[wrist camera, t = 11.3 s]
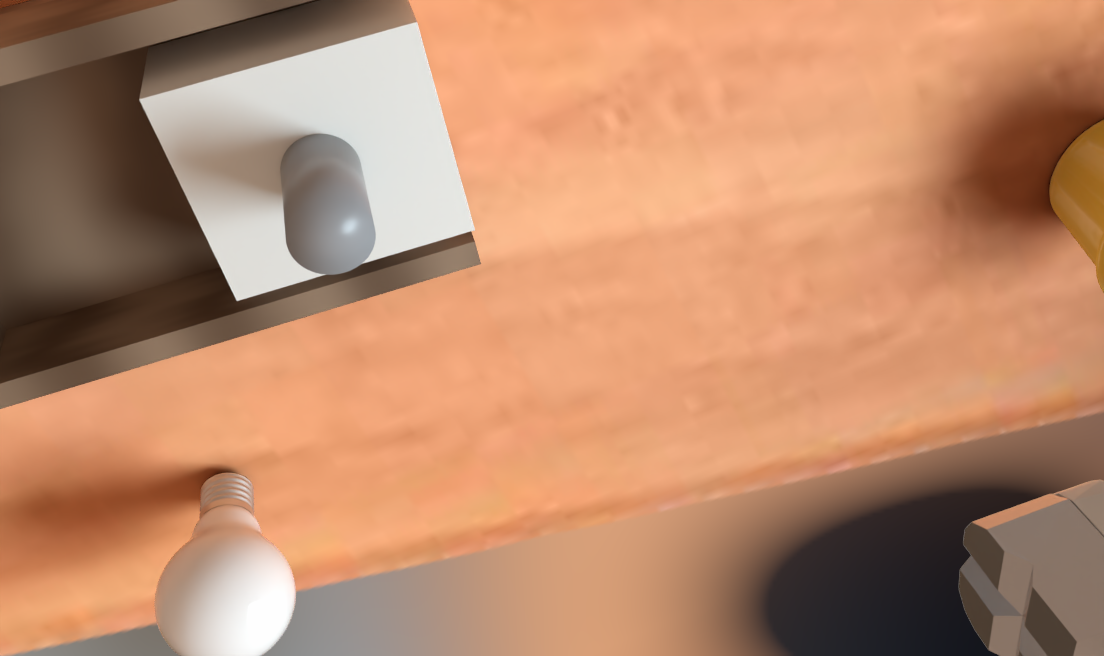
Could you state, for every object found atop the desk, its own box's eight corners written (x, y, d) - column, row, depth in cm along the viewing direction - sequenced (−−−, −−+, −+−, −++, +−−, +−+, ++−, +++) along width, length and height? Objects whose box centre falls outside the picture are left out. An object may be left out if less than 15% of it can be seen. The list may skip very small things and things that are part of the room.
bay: (375, -93, 39) (405, -23, 32) (461, 210, 47) (499, 316, 41) (-203, 63, 37) (-302, 173, 30) (-3, 347, 46) (-45, 483, 39)
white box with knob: (399, -22, 40) (439, 76, 32) (454, 174, 45) (500, 297, 37) (148, 47, 39) (127, 164, 31) (236, 238, 44) (237, 378, 37)
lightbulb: (139, 468, 52) (120, 644, 43) (253, 420, 52) (256, 586, 43) (203, 540, 56) (198, 714, 47) (309, 495, 56) (323, 661, 47)
